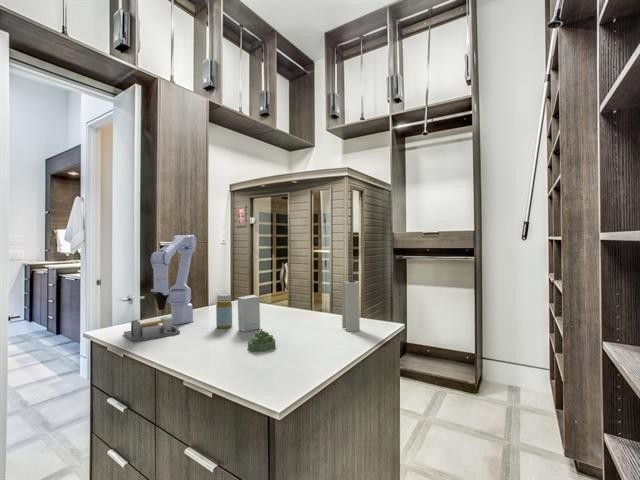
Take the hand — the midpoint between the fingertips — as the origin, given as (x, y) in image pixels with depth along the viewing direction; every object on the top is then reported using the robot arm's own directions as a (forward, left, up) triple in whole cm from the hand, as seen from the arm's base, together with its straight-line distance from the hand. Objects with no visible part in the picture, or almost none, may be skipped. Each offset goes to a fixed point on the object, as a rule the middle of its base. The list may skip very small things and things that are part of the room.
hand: (161, 309), depth 145 cm
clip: (-1, +2, -9) cm, 9 cm away
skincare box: (-30, +24, -10) cm, 39 cm away
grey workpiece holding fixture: (+4, 0, -10) cm, 11 cm away
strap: (+4, 0, -6) cm, 7 cm away
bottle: (-24, +12, -10) cm, 28 cm away
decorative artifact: (-21, +49, -10) cm, 54 cm away
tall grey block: (-62, +57, -10) cm, 85 cm away
